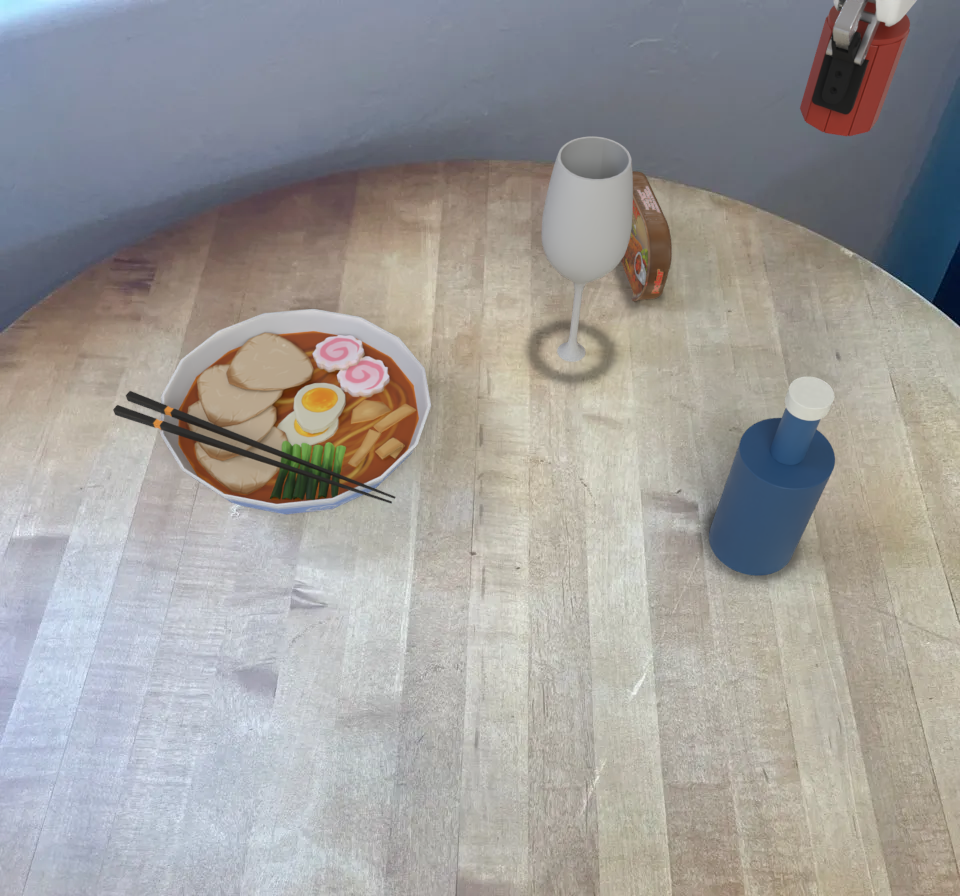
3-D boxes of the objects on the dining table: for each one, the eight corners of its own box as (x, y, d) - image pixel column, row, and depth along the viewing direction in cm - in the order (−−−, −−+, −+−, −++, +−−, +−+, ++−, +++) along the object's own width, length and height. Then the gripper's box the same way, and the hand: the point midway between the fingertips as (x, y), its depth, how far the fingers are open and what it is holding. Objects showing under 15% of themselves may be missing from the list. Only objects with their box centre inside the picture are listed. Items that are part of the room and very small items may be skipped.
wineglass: (521, 375, 96) (535, 175, 78) (544, 324, 100) (562, 122, 82) (597, 394, 95) (628, 196, 77) (617, 342, 98) (652, 141, 80)
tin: (598, 225, 108) (608, 153, 101) (626, 223, 108) (638, 150, 101) (634, 319, 100) (648, 248, 93) (664, 316, 100) (680, 244, 93)
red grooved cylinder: (887, 107, 82) (922, 11, 75) (859, 145, 79) (892, 49, 73) (818, 84, 83) (847, -11, 77) (788, 120, 80) (816, 25, 74)
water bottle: (803, 536, 86) (878, 380, 71) (771, 595, 83) (842, 445, 67) (727, 502, 88) (783, 342, 72) (692, 558, 85) (744, 404, 69)
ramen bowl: (485, 418, 93) (487, 351, 86) (370, 603, 82) (361, 544, 75) (255, 338, 98) (239, 268, 91) (117, 502, 87) (87, 437, 80)
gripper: (951, -128, 59) (851, 156, 74) (1036, -224, 67) (930, 51, 82) (832, -159, 61) (759, 124, 76) (928, -249, 69) (844, 24, 84)
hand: (848, 84), depth 79 cm, fingers closed on red grooved cylinder, 6 cm apart
